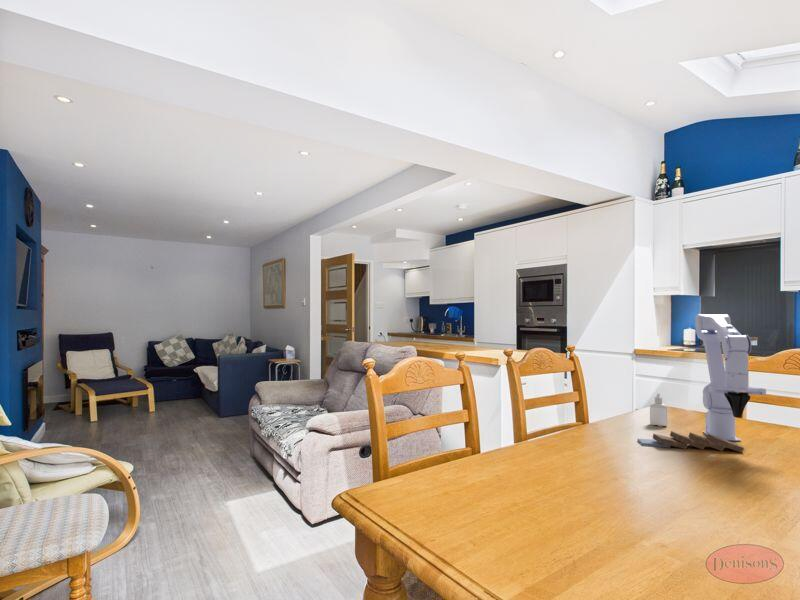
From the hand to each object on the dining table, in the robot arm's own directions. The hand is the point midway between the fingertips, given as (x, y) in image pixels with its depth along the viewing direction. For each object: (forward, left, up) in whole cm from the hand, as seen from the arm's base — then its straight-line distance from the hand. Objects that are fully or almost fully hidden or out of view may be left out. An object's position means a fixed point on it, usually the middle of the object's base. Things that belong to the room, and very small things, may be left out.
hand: (737, 417), depth 134 cm
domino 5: (0, 0, -10) cm, 10 cm away
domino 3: (0, -10, -10) cm, 14 cm away
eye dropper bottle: (-27, -14, -11) cm, 32 cm away
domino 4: (0, -5, -10) cm, 11 cm away
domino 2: (0, -15, -10) cm, 18 cm away
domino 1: (0, -20, -10) cm, 22 cm away
